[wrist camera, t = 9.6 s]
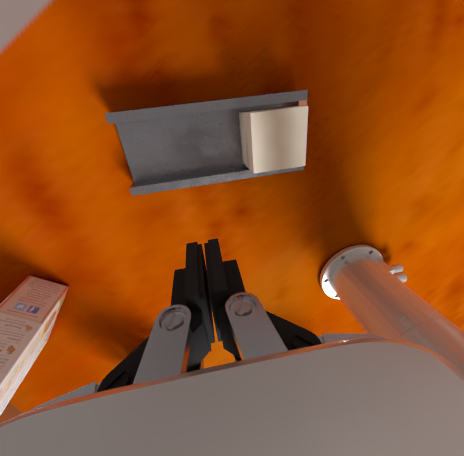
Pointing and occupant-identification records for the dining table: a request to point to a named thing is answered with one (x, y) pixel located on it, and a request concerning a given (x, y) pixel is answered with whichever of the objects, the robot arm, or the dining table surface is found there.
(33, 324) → the cracker box
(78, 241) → the dining table surface
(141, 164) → the grey shallow tray
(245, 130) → the block
